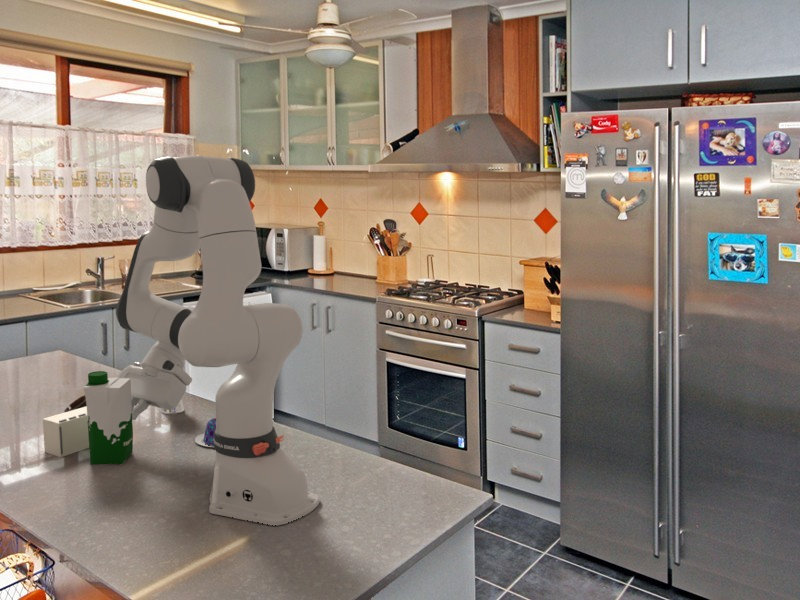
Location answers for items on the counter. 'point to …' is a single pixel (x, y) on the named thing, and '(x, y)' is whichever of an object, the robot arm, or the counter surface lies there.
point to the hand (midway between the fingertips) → (128, 417)
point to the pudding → (207, 434)
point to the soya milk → (109, 418)
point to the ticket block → (66, 432)
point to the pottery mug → (77, 404)
